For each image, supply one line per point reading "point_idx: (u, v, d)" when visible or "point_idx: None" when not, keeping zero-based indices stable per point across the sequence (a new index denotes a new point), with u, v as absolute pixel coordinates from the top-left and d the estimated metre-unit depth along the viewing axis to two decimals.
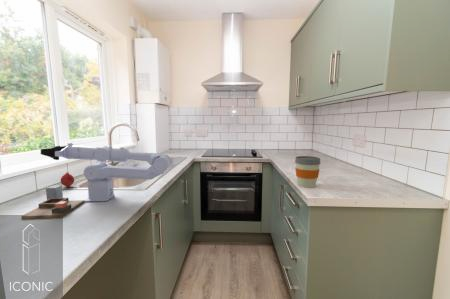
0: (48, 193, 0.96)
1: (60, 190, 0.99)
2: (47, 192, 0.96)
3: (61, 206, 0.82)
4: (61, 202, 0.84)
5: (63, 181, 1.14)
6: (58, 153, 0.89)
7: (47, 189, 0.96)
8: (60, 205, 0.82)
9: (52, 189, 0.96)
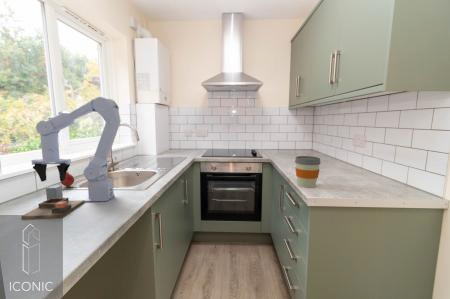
0: (48, 193, 0.96)
1: (60, 190, 0.99)
2: (47, 192, 0.96)
3: (61, 206, 0.82)
4: (61, 202, 0.84)
5: (63, 181, 1.14)
6: None
7: (47, 189, 0.96)
8: (60, 205, 0.82)
9: (52, 189, 0.96)
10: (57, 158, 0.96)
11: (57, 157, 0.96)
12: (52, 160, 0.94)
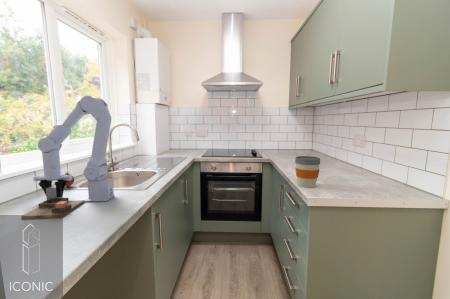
0: (48, 193, 0.96)
1: None
2: (47, 191, 0.96)
3: (61, 206, 0.82)
4: (61, 202, 0.84)
5: None
6: None
7: (47, 189, 0.96)
8: (60, 205, 0.82)
9: (52, 189, 0.96)
10: (58, 174, 0.97)
11: (58, 173, 0.97)
12: (54, 177, 0.95)
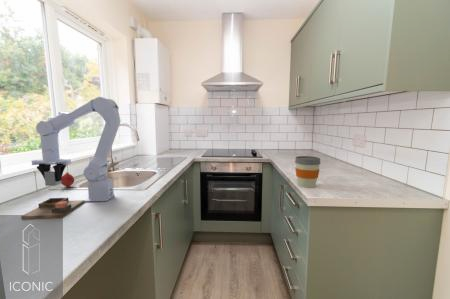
0: (46, 177, 0.95)
1: None
2: (45, 175, 0.95)
3: (61, 206, 0.82)
4: (61, 202, 0.84)
5: (63, 181, 1.14)
6: None
7: (45, 173, 0.95)
8: (60, 205, 0.82)
9: (50, 173, 0.95)
10: (57, 158, 0.96)
11: (57, 157, 0.96)
12: (52, 160, 0.94)
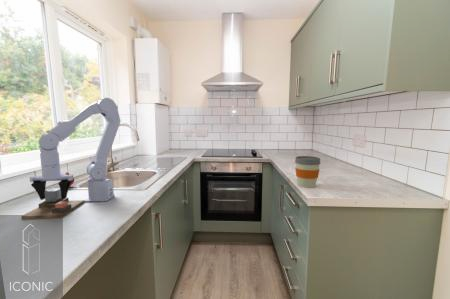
0: (47, 197, 0.88)
1: (60, 193, 0.91)
2: (46, 195, 0.88)
3: (61, 206, 0.82)
4: (61, 202, 0.84)
5: None
6: None
7: (46, 192, 0.87)
8: (60, 205, 0.82)
9: (52, 192, 0.88)
10: (58, 174, 0.89)
11: (58, 173, 0.89)
12: (53, 177, 0.87)
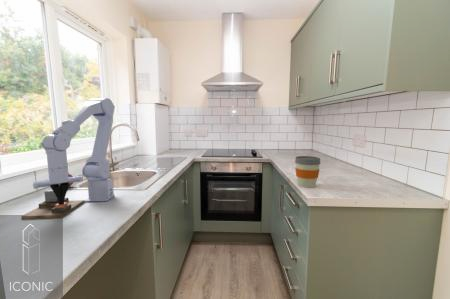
0: (47, 197, 0.88)
1: None
2: (46, 195, 0.88)
3: (61, 207, 0.82)
4: None
5: None
6: (33, 184, 0.78)
7: (46, 192, 0.87)
8: (60, 206, 0.82)
9: (52, 192, 0.88)
10: None
11: None
12: (66, 179, 0.82)
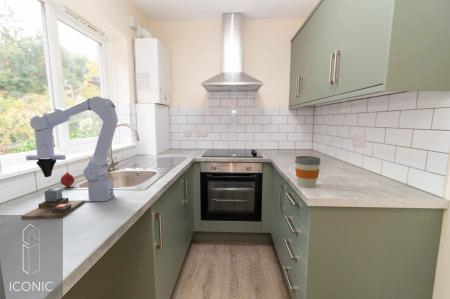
0: (47, 197, 0.88)
1: (60, 193, 0.91)
2: (46, 195, 0.88)
3: None
4: (61, 205, 0.84)
5: (63, 181, 1.14)
6: None
7: (46, 192, 0.87)
8: None
9: (52, 192, 0.88)
10: (52, 154, 0.95)
11: (52, 153, 0.95)
12: (46, 156, 0.94)
